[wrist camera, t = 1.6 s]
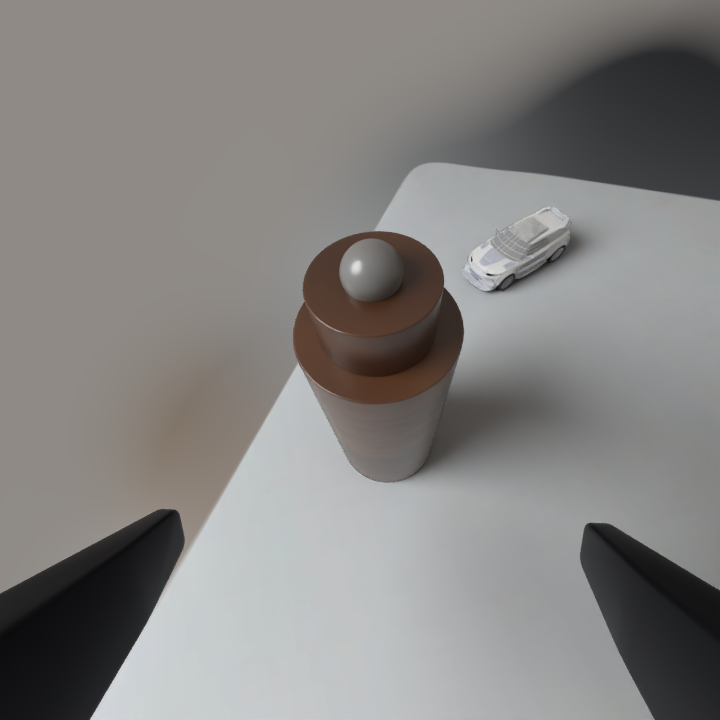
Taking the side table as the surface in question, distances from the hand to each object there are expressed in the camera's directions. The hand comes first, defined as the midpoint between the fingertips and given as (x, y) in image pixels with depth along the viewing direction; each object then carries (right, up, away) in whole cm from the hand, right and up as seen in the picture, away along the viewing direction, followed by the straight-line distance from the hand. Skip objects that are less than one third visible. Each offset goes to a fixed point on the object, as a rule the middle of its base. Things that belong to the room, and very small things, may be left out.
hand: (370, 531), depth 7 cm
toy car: (+11, +11, +18) cm, 24 cm away
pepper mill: (+1, -1, +12) cm, 12 cm away
